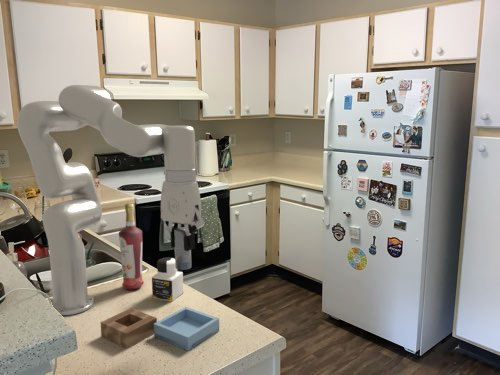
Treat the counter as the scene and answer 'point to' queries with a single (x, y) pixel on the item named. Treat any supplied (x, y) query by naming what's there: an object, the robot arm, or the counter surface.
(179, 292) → the medicine bottle
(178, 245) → the peg
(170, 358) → the counter surface
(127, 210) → the liquor
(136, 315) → the hole block
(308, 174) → the counter surface
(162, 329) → the tray
